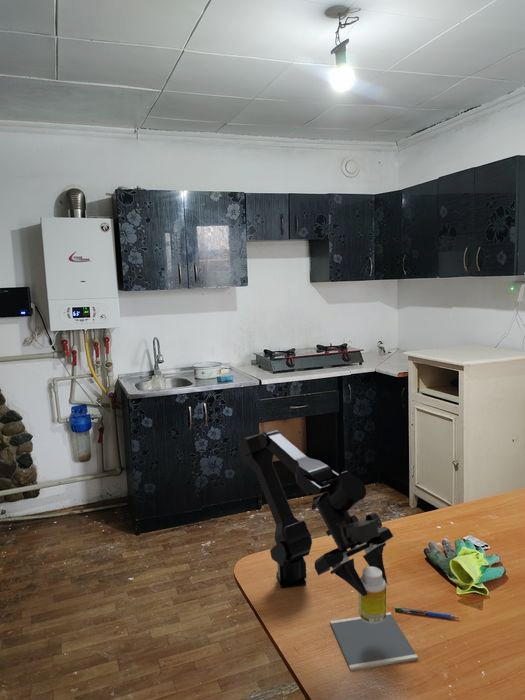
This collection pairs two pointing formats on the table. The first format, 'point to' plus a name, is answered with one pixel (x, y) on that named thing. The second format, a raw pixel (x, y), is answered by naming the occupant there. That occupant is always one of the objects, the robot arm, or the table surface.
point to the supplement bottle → (373, 596)
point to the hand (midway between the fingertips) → (375, 589)
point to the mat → (372, 642)
